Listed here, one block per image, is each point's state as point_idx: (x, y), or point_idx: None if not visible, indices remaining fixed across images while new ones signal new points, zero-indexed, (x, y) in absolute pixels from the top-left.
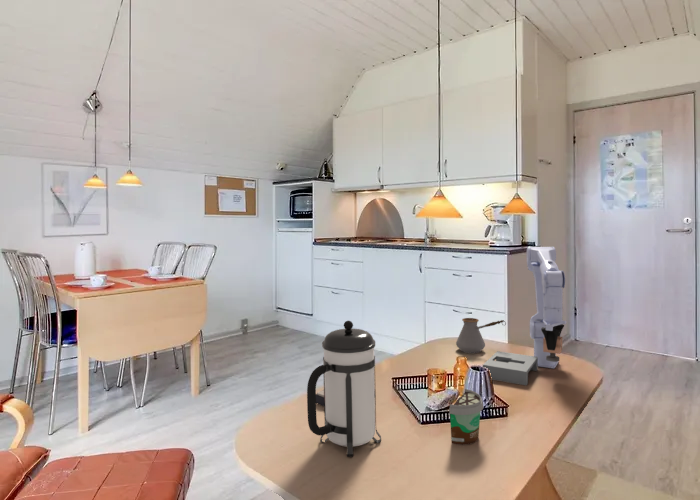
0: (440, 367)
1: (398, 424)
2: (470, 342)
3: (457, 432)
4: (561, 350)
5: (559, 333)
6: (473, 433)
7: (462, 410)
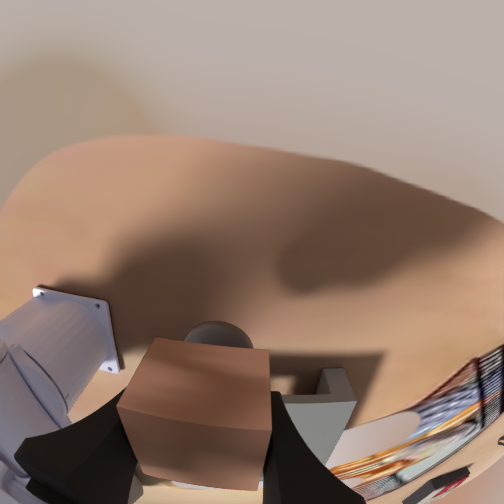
0: None
1: (500, 423)
2: (130, 493)
3: None
4: (190, 346)
5: (107, 440)
6: None
7: None
